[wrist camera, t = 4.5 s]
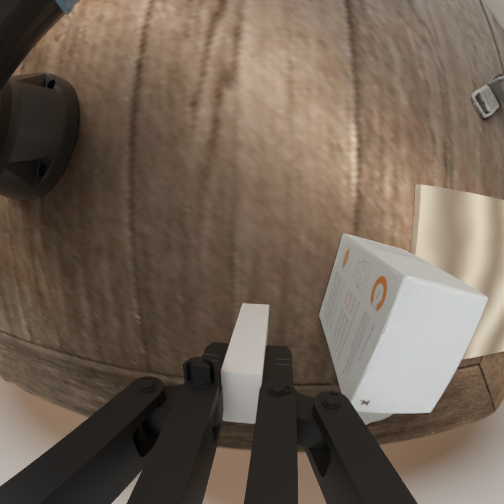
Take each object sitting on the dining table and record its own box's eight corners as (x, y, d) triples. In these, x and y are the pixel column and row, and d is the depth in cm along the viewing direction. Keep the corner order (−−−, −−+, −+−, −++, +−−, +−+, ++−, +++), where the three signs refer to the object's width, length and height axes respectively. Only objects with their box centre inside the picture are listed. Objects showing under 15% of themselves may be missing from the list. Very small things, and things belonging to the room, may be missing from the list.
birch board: (387, 361, 26) (390, 368, 25) (415, 184, 22) (421, 184, 21) (508, 345, 25) (512, 349, 23) (537, 209, 21) (543, 210, 19)
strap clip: (481, 121, 20) (504, 115, 16) (466, 96, 20) (488, 87, 16) (511, 94, 18) (532, 88, 14) (498, 72, 18) (518, 63, 14)
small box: (377, 327, 25) (431, 416, 13) (317, 315, 26) (342, 414, 13) (404, 247, 24) (492, 297, 11) (342, 230, 24) (403, 274, 11)
